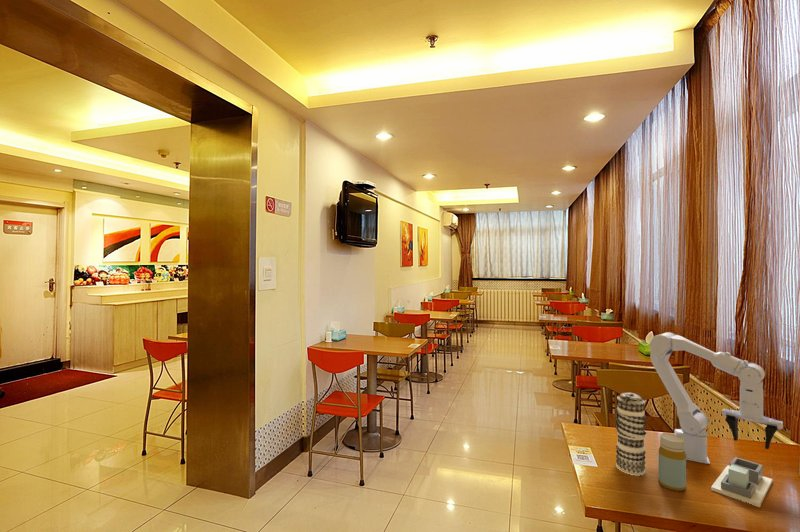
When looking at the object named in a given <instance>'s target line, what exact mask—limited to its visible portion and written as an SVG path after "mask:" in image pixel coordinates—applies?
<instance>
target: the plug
mask: <svg viewBox="0 0 800 532" xmlns="http://www.w3.org/2000/svg"><path fill="white" fill-rule="evenodd" d="M729 466H730V465H729ZM728 483H729V484H732V485H735V486H738V487H741V488H744V489H747V490H748V489H749V470H748V469H745V468H742V467H739V466H735V465H731V466H730V467H729V469H728Z"/></svg>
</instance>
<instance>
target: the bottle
mask: <svg viewBox="0 0 800 532" xmlns="http://www.w3.org/2000/svg"><path fill="white" fill-rule="evenodd" d="M659 437H660V439H659V443H660V444H659V445H660V446H659V448H658V468H657V469H658V472H657V475H658V482H659V484H660V485H661V486H662V487H664V488H665V487H666V489H667V488H668V489H667V490H670V491H673V490H675V491H674V492H682V491H684V490H685V489H686V488H687V460H686V454H685V451H684V446H685V441H684V439H683V438H682V437H680V436H678V435H674V433H666V432H665V433H661V434H660V436H659Z"/></svg>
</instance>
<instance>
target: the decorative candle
mask: <svg viewBox="0 0 800 532" xmlns="http://www.w3.org/2000/svg"><path fill="white" fill-rule="evenodd" d="M616 398H617V408H615V411H614V413H615V418H614V420H615V424H616V428H615V431H616V434H617V441H616V443H617V444H616V445H615V448H616V450H615V452H616V455H615V458H616V459H615V462H616V463H615V464H616V465H615V466H616V467H615V468H616V469H619V470H618V471H620V470H621V471H622V473H623V472H625V473H624V474H626V473H627V474H626V475H628V474H630V476H633V475H635V476H634V477H641V476H644V475H645V474H646V470H645V469H646V465H645V464H646V463H647V462H646V460H645V459H646V455H645V454H646V453H647V452H646V450H645V444H644V443H645V439H646V434H647V432H646V430H647V427H646V426H645V425H646V424H647V423H648V422H647V421H646V420H647V418H648V417H647V415H646V414H645V403H646V401H645V400H644V399H643V398H642V396H641V395H639V394H637V393H633V392H621V393H620V394H619V395H617V397H616ZM621 471H620V472H621ZM640 475H641V476H640Z"/></svg>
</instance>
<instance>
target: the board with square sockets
mask: <svg viewBox="0 0 800 532" xmlns="http://www.w3.org/2000/svg"><path fill="white" fill-rule="evenodd" d="M731 465H735V466H739V467H742V468H745V469H748V470H749V489H748V490H747V489H744V488H741V487H738V486H735V485H732V484H729V483H728V469H729V467H730V466H731ZM763 470H764V467H763V464H760V463H757V462H753V461H751V460H747V459H743V458H741V457H740V458H739V457H737V456H734V458H733V459H732V460H731V461H730V463H729V465H726V466H725V468H724V469H723V470H722V472H721V473H720V475H719V476H718V477H717V478H716V480H715V481H714V482H713V484H712V485H711V486H710V489H711V491H713V492H716V493H718V494H721V495H724V496H727V497H729V498H733V499H734V498H735V500H737V499H738V500H737V501H740V500H741V501H740V502H743V503H746V502H747V503H746V504H748V503H749V505H751V504H752V505H751V506H755V507H757V508H761V506H762V503H763V502H764V500H765V498H766V496H767V493H768V492H769V490H770V488H771V486H772V484H773V478H770V477H767V476H764V475H763V474H764V473H763Z"/></svg>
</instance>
